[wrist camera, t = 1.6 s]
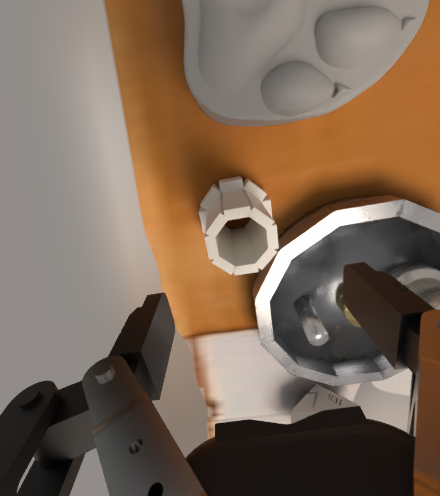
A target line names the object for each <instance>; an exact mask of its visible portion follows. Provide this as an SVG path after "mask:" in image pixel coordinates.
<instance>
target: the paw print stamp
mask: <svg viewBox="0 0 440 496" xmlns="http://www.w3.org/2000/svg"><path fill="white" fill-rule="evenodd" d="M181 1H182V6H183V12H184V22H185V37H184V73H185V78H186V81H187V84H188V87H189V89H190V91H191V93H192V94H193V96H194V98H195V100H196V101H197V103H198V105H199V106H200V108H201V109H202V111H203V112H204V113H205V114H206V115H207V116H208V117H210V118H211V119H213V120H214V121H216V122H218V123H221V124H224V125H230V126H249V127H259V126H272V125H280V124H286V123H291V122H295V121H299V120H304V119H308V118H313V117H317V116H321V115H324V114H327V113H330V112H332V111H334V110H336V109H337V108H339V107H341V106H342V105H344V104H346V103H347V102H349V101H350V100H352V99H353V98H355V97H356V96H358V95H359V94H361V93H362V92H363V91H365V90H366V89H368V88H369V87H370V86H372V85H373V84H374V83H375V82H377V81H378V80H379V79H380V78H381V77H382V76H383V75H384V74H385V73H386V72H387V71H388V70H389V69H390V68H391V67H392V66H393V65H394V63H395V62H396V61H397V60H398V59H399V57H400V56H401V55H402V53H403V52H404V51H405V49H406V48H407V47H408V45H409V44H410V42H411V41H412V39H413V38H414V36H415V35H416V33H417V31H418V30H419V28H420V26H421V24H422V22H423V19H424V17H425V14H426V12H427V8H428V4H429V0H181Z"/></svg>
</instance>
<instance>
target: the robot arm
mask: <svg viewBox="0 0 440 496" xmlns="http://www.w3.org/2000/svg"><path fill="white" fill-rule="evenodd" d="M343 298H344V303H345V305H346V307H347V309H348V310H349V312H350V313H351V314H352V316H353V317H354V318H355V319H356V321H357V322H358V323H359V325H360V326H361V327H362V328H363V330H364V331H365V332H366V333H367V335H368V336H369V337H370V339H371V340H372V341H373V342H374V344H375V345H376V346H377V348H378V349H379V350H380V351H381V353H382V354H383V355H384V357H385V358H386V359H387V360H388V362H389V363H390V364H391V366H392V367H393V368H394V369H395V370H398V369H405V368H409V369H410V370H411V371H412V379H411V391H410V403H409V415H408V426H407V433H406V432H405V431H403V430H401V429H398V428H396V427H394V426H391V425H389V424H385V423H382V422H379V421H375V420H371V419H366V417H365V415H364V413H363V411H362V410H361V408H360V406H354V407H346V408H338V409H330V410H323V411H320V412H318V413H316V414H313V415H311V416H309V417H306V418H304V419H302V420H299V421H297V422H295V423H292V424H278V423H271V422H264V421H257V420H250V419H249V420H241V421H233V422H225V423H217V424H215V437H213V438H211V439H209V440H207V441H205V442H204V443H202V444H201V445H199V446H198V447H197V448H195V449H194V450H193V451H192V452H191V453H190V454H189V455H188V456H187V457H186V458H185V457H184V455H183V454H182V452H181V450H180V449H179V447H178V445H177V444H176V442H175V440H174V439H173V437H172V435H171V433H170V432H169V430H168V428H167V426H166V425H165V423H164V422H163V420H162V418H161V416H160V415H159V413H158V411H157V410H156V408H155V406H154V404H153V403H152V400H159V399H160V396H161V391H162V387H163V382H164V378H165V373H166V369H167V365H168V360H169V356H170V351H171V347H172V343H173V338H174V334H175V324H174V319H173V316H172V312H171V309H170V306H169V302H168V299H167V296H166V294H165V293H158V294H151V295H148V296H147V297H146V299H145V301H144V304H143V306H142V307H138V308H136V309H135V310H134V312H133V313H132V314H130V315H129V317H128V319H127V321H126V323H125V326H124V327H123V329H122V330H121V333H120V334H119V336H118V338H117V340H116V342H115V344H114V346H113V348H112V350H111V352H110V354H109V356H108V357H106V358H104V359H102V360H100V361H98V362H96V363H95V364H94V365H93V366H92V367H90V369H88V371H87V372H86V373H85V375H84V377H83V379H82V381H80V382H77V383H75V384H72V385H70V386H67V387H65V388H62V389H60V390H58V389H57V387H56V385H55V384H54V383H53V382H52V381H42V382H39V383H36V384H34V385H32V386H30V387H28V388H26V389H25V390H23V391H22V392H21V393H19V394H18V395H17V396H16V397H15V398H14V399H13V400H12V401H11V402H10V403H9V404H8V406H7V407H6V408H5V410H4V411H3V413H2V414H1V415H0V496H69V495H70V492H71V490H72V487H73V484H74V482H75V479H76V477H77V474H78V471H79V469H80V466H81V463H82V461H83V458H84V455H85V453H86V452H88V451H90V450H92V449H94V448H97V452H98V456H99V459H100V463H101V466H102V470H103V473H104V477H105V481H106V484H107V488H108V491H109V495H110V496H440V310H436V309H435V308H433V307H432V306H431V305H430V304H428V303H427V302H426V301H424V300H423V299H422V298H420V297H419V296H418V295H416V294H415V293H414V292H413V291H411V290H409V288H407V287H406V286H405V285H402V284H401V282H399V281H398V280H397V279H395V278H394V277H393V276H391V275H388V274H386V273H383V272H381V271H375V270H374V269H373V268H372V267H370V266H369V265H368V264H367V263H365V262H359V263H352V264H346V265H345V266H344V269H343ZM32 457H34V458H35V461H34V463H33V465H32V466H31V468H30V470H29V472H28V474H27V476H26V478H25V480H24V481H23V483H22V485H21V487H20V489H19V491H18V493H17V488H18V485H19V482H20V480H21V478H22V476H23V474H24V472H25V470H26V468H27V467H28V465H29V463H30V461H31V459H32ZM16 494H17V495H16Z"/></svg>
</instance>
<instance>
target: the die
mask: <svg viewBox="0 0 440 496" xmlns="http://www.w3.org/2000/svg"><path fill="white" fill-rule="evenodd" d="M354 406H360V405H358V404H356V403H354V402H352V401H350V400H348V399H346V398H344V397H342V396H340V395H338V394H336V393H334V392H332V391H330V390H328V389H326V388H324V387H322V386H320V385H318V384H315V386H314V387H313V388H312V389H311V390H310V391H309V392H308V393H307V394H306V395H305V396H304V397H303V399H302V400H301V401H300V402H299V403H298V404H297V405H296V406H295V407H294V408H293V409H292V410H291V411H290V415H291V424H292V423H295V422H297V421H299V420H302V419H304V418H306V417H309V416H311V415H313V414H316V413H318V412H320V411H323V410H330V409H338V408H346V407H354ZM360 408H361V407H360Z"/></svg>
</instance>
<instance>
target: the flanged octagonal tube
mask: <svg viewBox="0 0 440 496" xmlns="http://www.w3.org/2000/svg"><path fill="white" fill-rule="evenodd" d="M219 187H220V188H219ZM219 187H217V186H216V185H215V184H213V185H212V186H211V188H210V189H209V191H208V192H207V194H206V195H205V197H204V198H203V200H202V201H201V204H200V206H201V207H200V210H199V216H200V220H201V225H202V230H203V233H205V241H206V246H207V251H208V256H209V260H210V259H212V262H211V263H213V264H215V265H216V266H218V267H219V268H221V269H223V270H224V271H226V272H227V273H229V274H231V275H232V273H233V272H234V273H235V275H242V274H248V273H255V272H259V271H258V268H260V269H261V270H262V269H263V268H264V267H265V266H266V265H267V264H268V263H269V261H270V260H271V259H272V258H273V257H274V256H275V254H276V253H277V250H276V249H279V245H278V234H277V225H276V223H275V221H274V220H273V218H272V209H271V200H270V199H269V197H268V196H266V195H267V193H266V192H265V191H264V190H263V189H262V188H260V187H259V186H258V185H256V184H255V183H253V182H252V181H251V180H249V179H248V178H246V179H245V181H244V182H243V181H242V178H241V176H238V177H233V178H227V179H222V180H219ZM246 217H250V218H251V219H250V221H249V222H248V223H247V225H246V226H245V227H242V228H236V229H229V228H227V227H226V226H224V225H225V223H226V222H227V221H228V220H234V219H240V218H246Z"/></svg>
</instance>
